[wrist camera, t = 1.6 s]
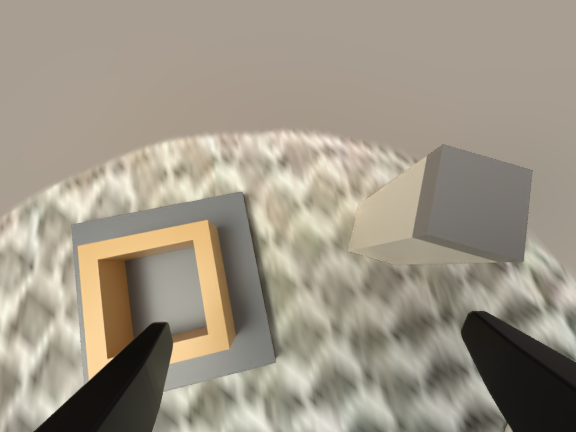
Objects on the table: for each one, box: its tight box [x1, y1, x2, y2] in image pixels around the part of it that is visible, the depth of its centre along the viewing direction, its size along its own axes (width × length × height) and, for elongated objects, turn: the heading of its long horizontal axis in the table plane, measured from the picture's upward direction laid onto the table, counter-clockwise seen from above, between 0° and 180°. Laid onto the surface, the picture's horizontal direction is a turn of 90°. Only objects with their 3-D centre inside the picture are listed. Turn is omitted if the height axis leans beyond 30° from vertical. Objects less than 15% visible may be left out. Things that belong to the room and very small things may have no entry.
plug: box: [348, 144, 532, 265], centre depth 18 cm, size 4×4×12 cm
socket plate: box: [71, 192, 276, 392], centre depth 20 cm, size 14×14×4 cm
